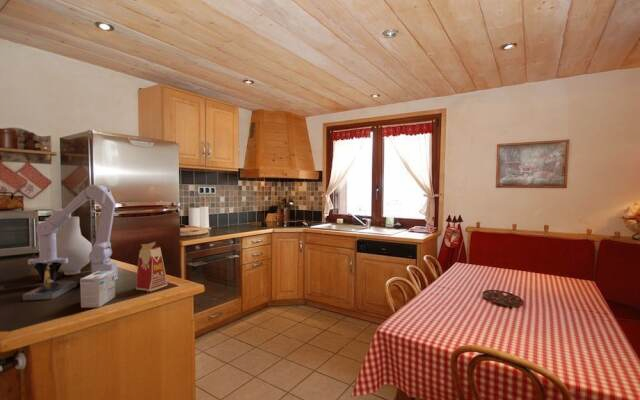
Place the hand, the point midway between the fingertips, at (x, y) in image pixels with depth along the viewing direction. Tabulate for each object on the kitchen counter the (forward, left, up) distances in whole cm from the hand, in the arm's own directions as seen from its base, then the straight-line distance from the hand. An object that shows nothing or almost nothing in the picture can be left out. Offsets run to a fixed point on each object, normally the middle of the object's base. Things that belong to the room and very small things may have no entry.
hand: (48, 279), depth 140 cm
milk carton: (-45, +10, -2) cm, 46 cm away
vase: (+1, -19, -2) cm, 19 cm away
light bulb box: (-32, +26, -2) cm, 41 cm away
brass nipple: (0, 0, -2) cm, 2 cm away
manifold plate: (-8, +12, -2) cm, 15 cm away
